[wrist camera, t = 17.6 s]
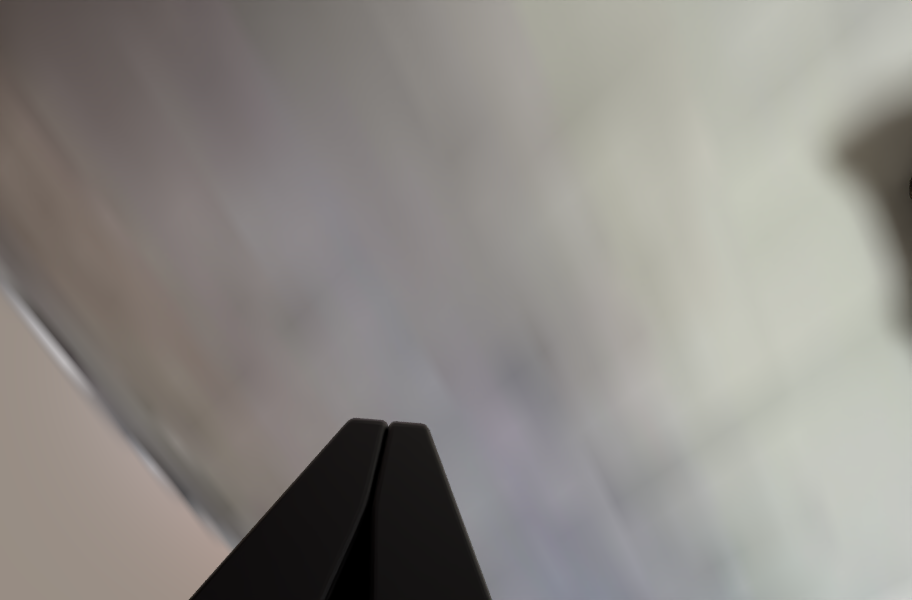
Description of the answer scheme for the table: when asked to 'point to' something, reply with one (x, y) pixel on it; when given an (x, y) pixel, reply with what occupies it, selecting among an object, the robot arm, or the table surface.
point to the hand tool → (911, 188)
